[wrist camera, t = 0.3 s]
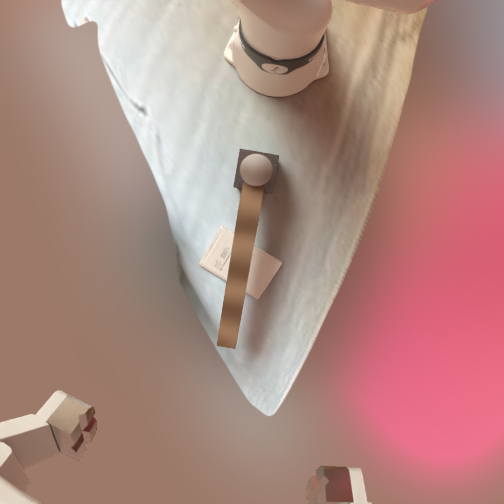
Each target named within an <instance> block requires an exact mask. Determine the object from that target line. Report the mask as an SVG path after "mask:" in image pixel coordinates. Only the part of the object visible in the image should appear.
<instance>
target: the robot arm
mask: <svg viewBox="0 0 504 504" xmlns="http://www.w3.org/2000/svg"><path fill="white" fill-rule="evenodd" d="M230 1H231V2H232V3H233V4H234V5H235V6H236V7H237V8H238V11H239V14H238V19H239V20H240V21H239V23H238V25H235V27H234V30H233V34H232V36H231V38H230V40H229V42H228V45H227V47H226V49H225V51H224V58H225V59H226V60H227V61H228V62H229V63H231V64H232V65H233V66H234V67H235V68H236V70H237V72H238V74H239V76H240V77H241V79H242V80H243V81H244V83H245V84H246V85H248V86H249V87H250V88H251V89H253V90H255V91H256V92H258V93H261V94H264V95H267V96H274V97H283V96H289V95H293V94H295V93H298V92H300V91H301V90H303V89H304V88H306V87H307V86H308V85H309V84H310V83H311V82H312V81H314V80H317V79H320V78H323V77H325V76H326V75H327V74H328V72H329V63H328V52H327V42H326V33H325V30H326V28H327V26H328V24H329V22H330V20H331V17H332V12H333V7H332V2H331V0H230ZM346 1H349V2H352V3H355V4H359V5H364V6H369V7H374V8H378V9H383V10H388V11H393V12H398V13H403V14H412V13H415V12H418V11H420V10H422V9H424V8H426V7H427V6H429V5H430V4H431V3H432V2H434V1H435V0H346ZM323 64H324V66H323ZM94 415H95V409H94V407H92V406H90V405H88V404H86V403H84V402H82V401H80V400H78V399H76V398H74V397H72V396H70V395H68V394H66V393H64V392H62V391H60V390H59V391H56V392H55V393H54V394H53V395H52V396H51V398H50V399H49V400H48V401H47V402H46V403H45V404H44V406H43V407H42V408H41V409H40V410H39V411H38V413H37V414H36V415H33V414H30V415H26V416H23V417H19V418H15V419H12V420H8V421H4V422H0V504H42V503H40V502H39V501H37V500H35V499H34V498H32V497H31V496H29V495H28V494H26V493H25V491H26V490H27V488H28V487H29V485H30V484H31V482H30V479H29V477H28V476H27V474H26V473H25V471H24V469H27V468H29V467H31V466H34V465H36V464H38V463H40V462H42V461H45V460H47V459H49V458H51V457H53V456H55V455H57V454H59V453H60V452H61V453H63V454H64V455H66V456H68V457H71V458H72V459H74V460H76V461H80V459H81V458H82V456H83V455H84V453H85V451H86V445H85V444H87V443H89V442H92V440H93V438H94V436H95V434H96V430H97V421H96V419H95V418H94V417H93V416H94ZM306 499H307V500H308V501H309V502H310V503H309V504H372V503H371V502H367V497H366V491H365V486H364V481H363V476H362V470H361V469H360V468H353V467H351V468H350V467H335V466H320V467H319V468H318V469H317V470H316V475H314V476H312V477H311V478H310V480H309V481H308V484H307V488H306Z"/></svg>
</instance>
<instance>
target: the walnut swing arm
mask: <svg viewBox="0 0 504 504" xmlns="http://www.w3.org/2000/svg"><path fill="white" fill-rule="evenodd" d="M272 172H273V168H272V164H271V162H270V160H269V159H268V158H267V157H265V156H264V155H261V154H252V155H249V156H247V157H246V158H245V159H244V160H243V161H242V163H241V165H240V174H241V177H242V179H243V185H242V191H241V197H240V203H239V209H238V215H237V221H236V227H235V233H234V239H233V245H232V251H231V257H230V263H229V270H228V276H227V282H226V289H225V295H224V302H223V308H222V315H221V321H220V328H219V335H218V341H217V346H222V347H227V348H233V349H235V348H236V343H237V337H238V332H239V326H240V321H241V315H242V309H243V304H244V298H245V293H246V287H247V281H248V276H249V270H250V265H251V259H252V254H253V248H254V242H255V237H256V231H257V226H258V220H259V214H260V209H261V203H262V198H263V192H264V186H265V183H267V182H268V181H269V179H270V178H271V176H272Z"/></svg>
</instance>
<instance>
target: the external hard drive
mask: <svg viewBox="0 0 504 504" xmlns="http://www.w3.org/2000/svg"><path fill="white" fill-rule="evenodd" d="M233 239H234V232H232V231H230V230H229V229H227V228H225V227H224V226H221V228H220V230H219V231H218V233H217V235H216V236H215V238H214V240H213V241H212V243H211V245H210V247H209V248H208V250H207V252H206V253H205V255H204V257H203V258H202V260H201V262H200V264H199V265H200V266H202V267H203V268H205V269H207V270H208V271H210V272H211V273H213V274H215V275H216V276H218V277H220V278H221V279H223V280H225V281H226V282H227V276H228V270H229V263H230V257H231V251H232V245H233ZM281 265H282V261H280V260H278V259H277V258H275V257H273V256H272V255H270V254H268V253H267V252H265V251H263V250H262V249H260V248H258V247H257V246H255V245H254V248H253V254H252V259H251V265H250V270H249V276H248V281H247V287H246V293H247V294H249V295H250V296H252V297H254V298H255V299H257V300H258V299H259V298H260V296H261V295H262V293H263V292H264V290H265V289H266V287H267V286H268V284H269V283H270V281H271V280H272V279H273V277H274V275H275V274H276V272H277V271H278V270H279V268H280V266H281Z"/></svg>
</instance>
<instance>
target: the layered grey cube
mask: <svg viewBox="0 0 504 504" xmlns="http://www.w3.org/2000/svg"><path fill="white" fill-rule="evenodd" d="M252 154H261V155H264V156H265V157H267V158H268V159H269V160H270V162H271V164H272V168H273V172H272V176H271V178H270V179H269V181H268V182H267V183H265V186H264V192H265V193H270V194H272V193H273V187H274V182H275V176H276V171H277V165H278V159H279V155H273V154H268V153H262V152H256V151H251V150H244V149H240V152H239V158H238V164H237V169H236V175H235V181H234V187H236V188H242V185H243V179H242V177H241V174H240V165H241V163H242V161H243V160H244V159H245V158H246V157H247V156H249V155H252Z"/></svg>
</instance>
